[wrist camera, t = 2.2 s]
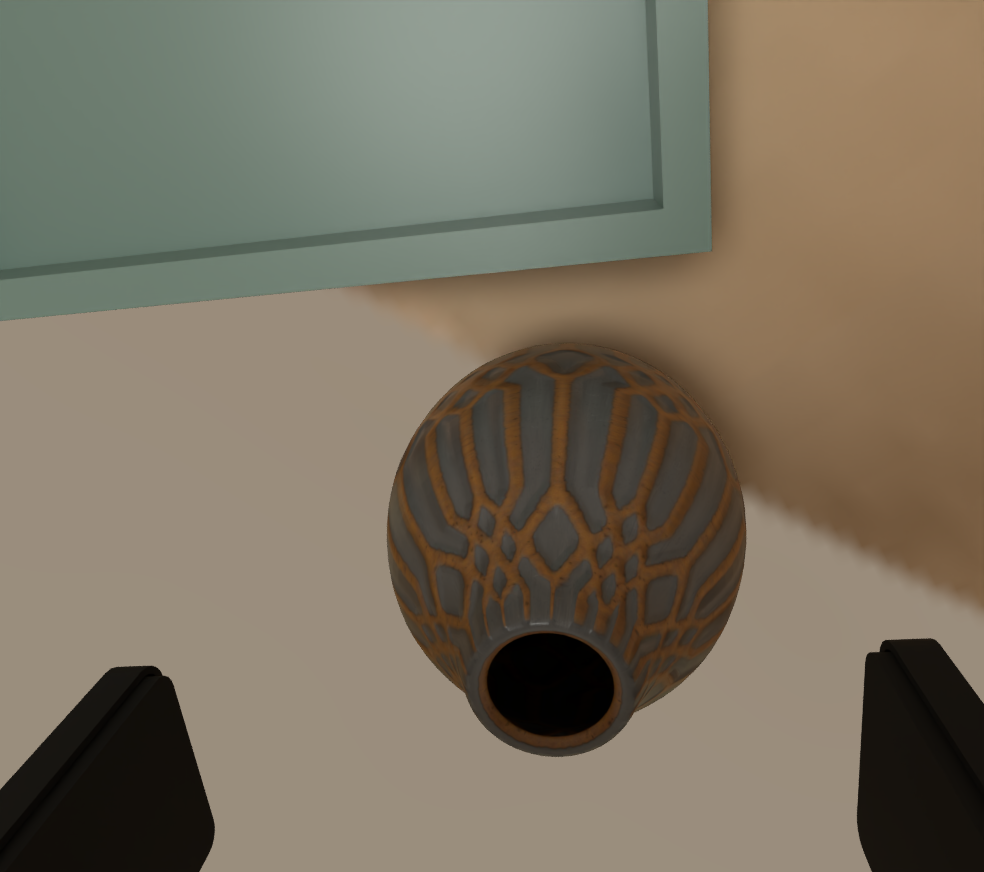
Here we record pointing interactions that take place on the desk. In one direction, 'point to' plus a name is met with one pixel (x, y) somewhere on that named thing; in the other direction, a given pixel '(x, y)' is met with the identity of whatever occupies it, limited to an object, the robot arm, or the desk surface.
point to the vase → (565, 542)
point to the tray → (340, 143)
